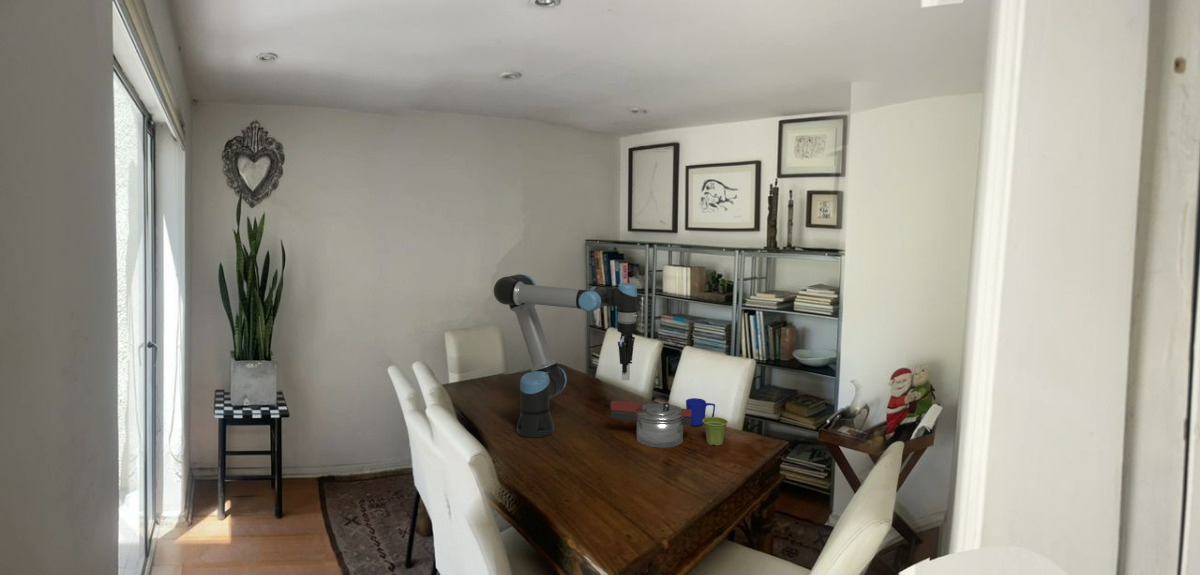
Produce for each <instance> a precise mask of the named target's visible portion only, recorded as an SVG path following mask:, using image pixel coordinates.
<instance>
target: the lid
mask: <svg viewBox="0 0 1200 575" xmlns="http://www.w3.org/2000/svg"><path fill="white" fill-rule="evenodd" d="M610 411H619V412H630V413H636V415H637V416H639V417H640V418H643V419H646V420H651V421H673V420H677V419H680V418H682V417H683V416H684V417H687V416H689V417H691V415H692V409H686V408H682V407H680V406H677V405H675V404H674V405H673V404H670V403H669V402H663V403H648V404H643V403H642V402H632V401H623V400H622V401H620V400H611V402H610Z"/></svg>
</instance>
